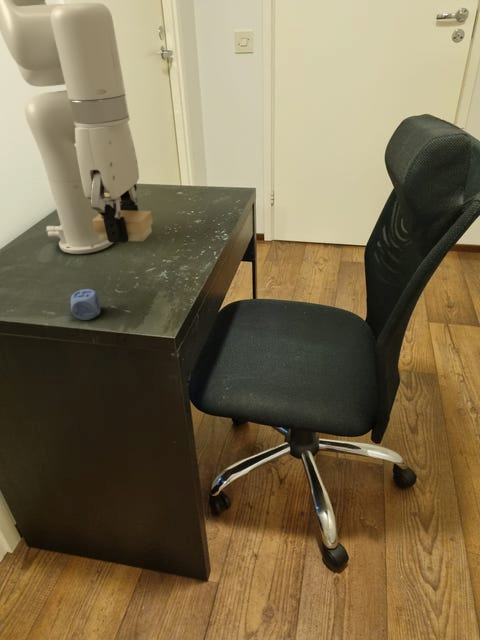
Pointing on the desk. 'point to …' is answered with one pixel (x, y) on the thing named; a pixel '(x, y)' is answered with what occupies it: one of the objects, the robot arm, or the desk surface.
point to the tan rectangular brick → (128, 225)
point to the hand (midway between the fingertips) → (125, 233)
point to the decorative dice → (85, 304)
